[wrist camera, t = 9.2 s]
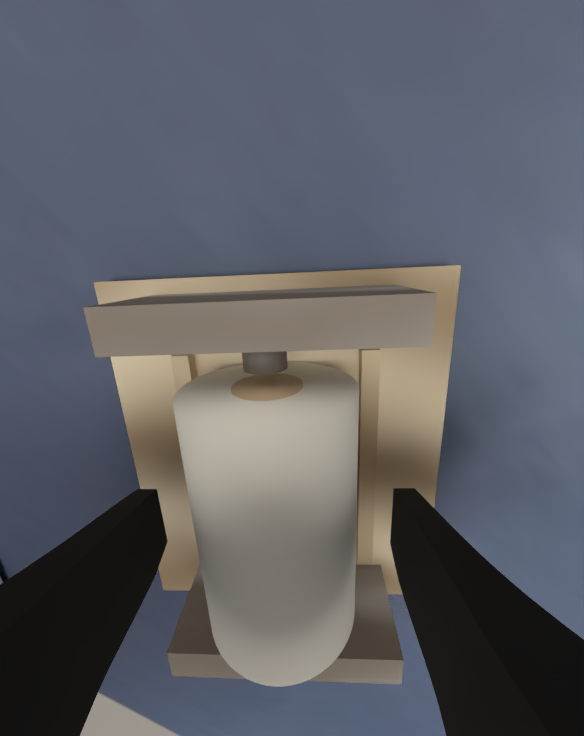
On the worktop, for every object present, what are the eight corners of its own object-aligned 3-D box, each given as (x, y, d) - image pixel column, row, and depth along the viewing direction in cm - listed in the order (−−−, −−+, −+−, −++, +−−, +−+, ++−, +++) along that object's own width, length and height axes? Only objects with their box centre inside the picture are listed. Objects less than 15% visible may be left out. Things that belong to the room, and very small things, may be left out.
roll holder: (417, 573, 15) (460, 695, 11) (172, 570, 16) (121, 683, 12) (447, 265, 11) (538, 264, 7) (111, 281, 12) (-5, 289, 7)
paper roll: (345, 540, 13) (367, 689, 9) (229, 540, 14) (189, 685, 9) (346, 357, 11) (377, 426, 6) (205, 362, 11) (132, 430, 7)
